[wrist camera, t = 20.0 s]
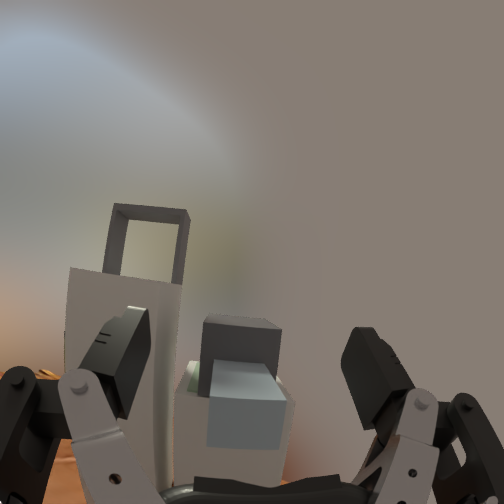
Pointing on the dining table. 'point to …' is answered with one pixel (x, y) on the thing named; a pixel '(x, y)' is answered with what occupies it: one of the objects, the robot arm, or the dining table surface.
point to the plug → (241, 382)
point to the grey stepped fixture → (160, 368)
